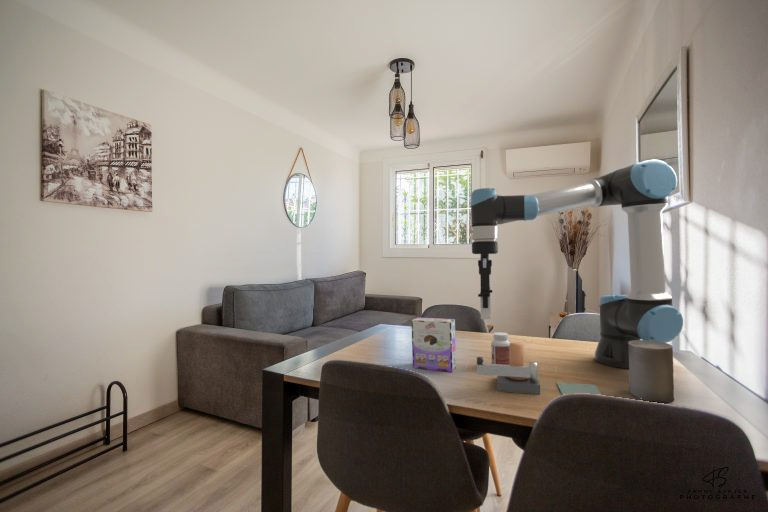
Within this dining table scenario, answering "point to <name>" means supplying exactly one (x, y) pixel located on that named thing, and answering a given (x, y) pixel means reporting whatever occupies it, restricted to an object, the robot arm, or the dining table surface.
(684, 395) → the dining table surface
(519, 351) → the plug
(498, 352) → the pill bottle
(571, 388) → the mat
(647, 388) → the pillar candle
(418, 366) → the candy box
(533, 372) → the clip
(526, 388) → the socket
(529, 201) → the robot arm
